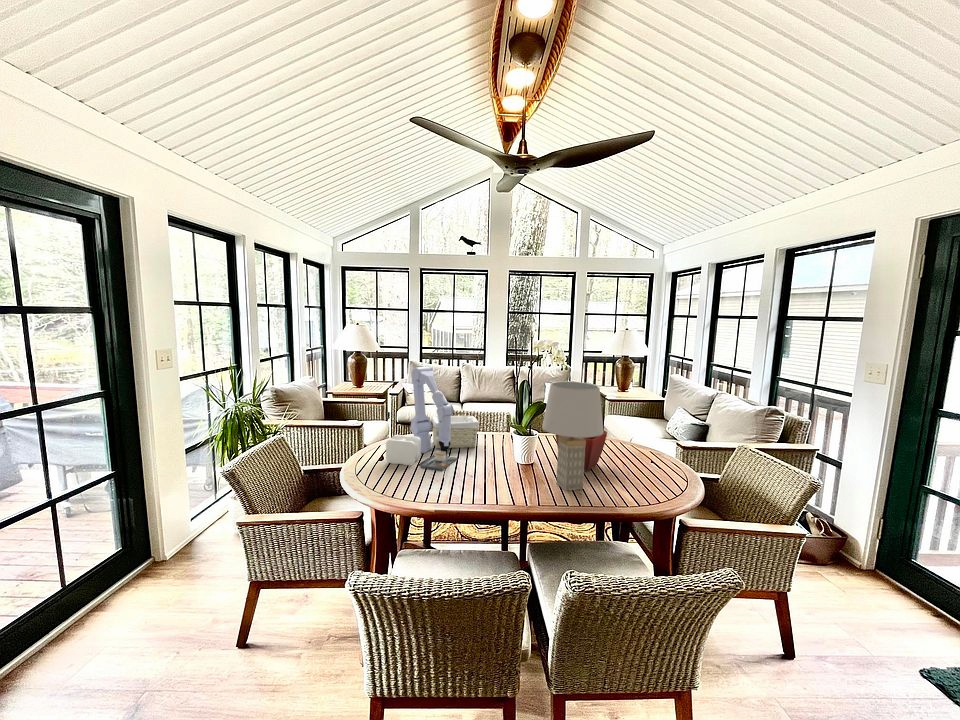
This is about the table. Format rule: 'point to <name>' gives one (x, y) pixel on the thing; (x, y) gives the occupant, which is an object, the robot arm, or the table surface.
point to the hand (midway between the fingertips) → (444, 456)
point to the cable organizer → (403, 449)
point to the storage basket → (458, 431)
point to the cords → (426, 460)
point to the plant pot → (592, 450)
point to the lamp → (572, 427)
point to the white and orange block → (440, 455)
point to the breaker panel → (438, 463)
